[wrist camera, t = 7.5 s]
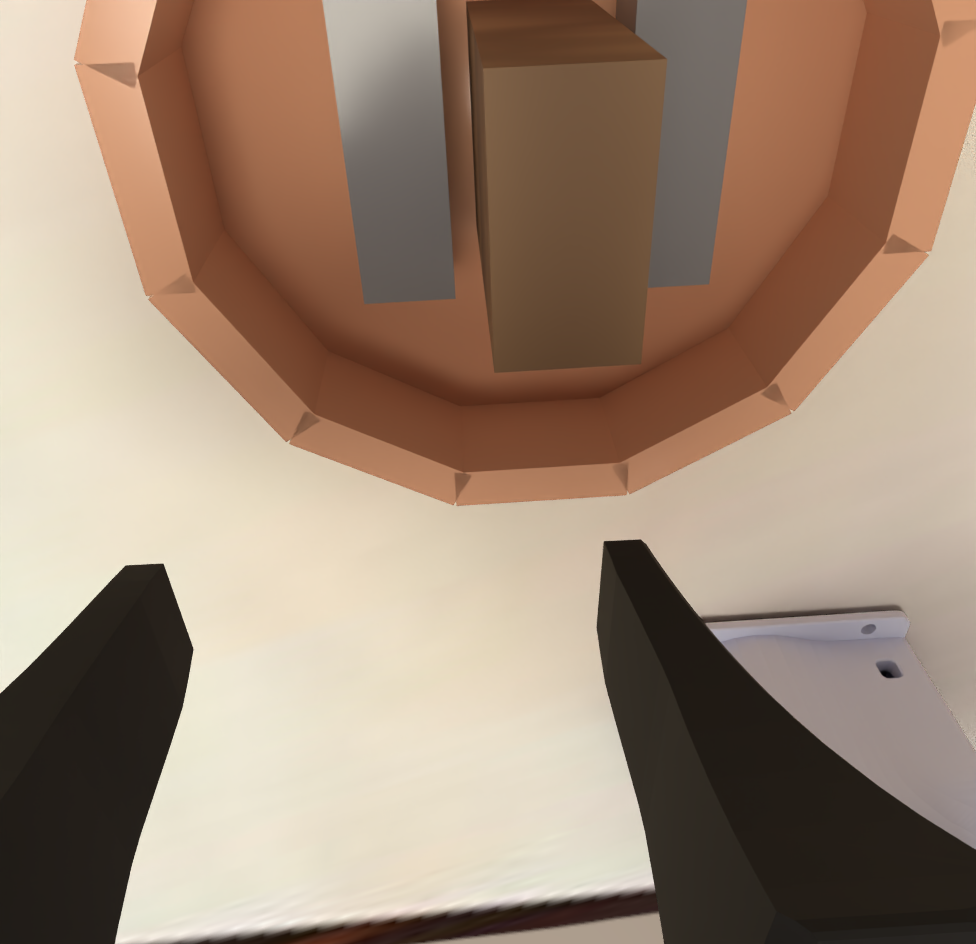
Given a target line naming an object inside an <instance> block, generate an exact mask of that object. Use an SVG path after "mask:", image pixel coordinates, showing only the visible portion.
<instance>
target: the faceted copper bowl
mask: <svg viewBox="0 0 976 944" xmlns="http://www.w3.org/2000/svg"><path fill="white" fill-rule="evenodd" d="M466 1H485V0H87V1H86V5H85V10H84V15H83V20H82V24H81V29H80V34H79V39H78V43H77V48H76V53H75V57H74V60H75V61H78V62H79V63H78V64H76V65H74V66H75V69H76V72H77V75H78V79H79V82H80V85H81V88H82V91H83V95H84V98H85V101H86V104H87V108H88V111H89V114H90V117H91V120H92V124H93V127H94V130H95V133H96V137H97V140H98V143H99V146H100V149H101V153H102V156H103V159H104V162H105V166H106V169H107V172H108V175H109V178H110V182H111V185H112V188H113V191H114V195H115V198H116V201H117V204H118V207H119V211H120V214H121V217H122V220H123V224H124V227H125V230H126V233H127V236H128V240H129V243H130V246H131V249H132V253H133V256H134V259H135V262H136V266H137V269H138V272H139V275H140V278H141V282H142V285H143V288H144V291H145V295H146V296H150V295H151V296H150V297H149V299H148V300H149V301H150V302H151V303H152V304H153V305H154V306H155V307H156V308H157V309H158V310H159V311H160V312H161V313H162V314H163V315H164V316H165V317H166V318H167V319H168V320H169V321H170V323H171V324H172V325H173V326H174V327H175V328H176V329H177V330H178V331H179V332H180V333H181V334H182V335H183V336H184V337H185V338H186V339H187V340H188V341H189V342H190V343H191V344H192V345H193V346H194V347H195V348H196V349H197V350H198V351H199V352H200V353H201V355H202V356H203V357H204V358H205V359H206V360H207V361H208V362H209V363H210V364H211V365H212V366H213V367H214V368H215V369H216V370H217V371H218V372H219V373H220V374H221V375H222V376H223V377H224V378H225V379H226V380H227V381H228V382H229V383H230V384H231V385H232V387H233V388H234V389H235V390H236V391H237V392H238V393H239V394H240V395H241V396H242V397H243V398H244V399H245V400H246V401H247V402H248V403H249V404H250V405H251V406H252V407H253V408H254V409H255V410H256V411H257V412H258V413H259V414H260V415H261V416H262V417H263V419H264V420H265V421H266V422H267V423H268V424H269V425H270V426H271V427H272V428H273V429H274V430H275V431H276V432H277V433H278V434H279V435H280V436H281V437H282V438H283V439H284V440H285V441H286V442H287V441H289V440H290V443H289V444H291V445H293V446H296V447H299V448H302V449H304V450H307V451H310V452H312V453H315V454H318V455H320V456H323V457H326V458H328V459H331V460H334V461H336V462H339V463H342V464H344V465H347V466H350V467H352V468H355V469H358V470H360V471H363V472H366V473H368V474H371V475H374V476H376V477H379V478H382V479H384V480H387V481H390V482H392V483H395V484H398V485H401V486H403V487H406V488H409V489H411V490H414V491H417V492H419V493H422V494H425V495H427V496H430V497H433V498H435V499H438V500H441V501H443V502H446V503H449V504H451V505H454V503H455V502H456V503H457V506H460V505H476V504H492V503H508V502H524V501H540V500H556V499H572V498H588V497H604V496H620V495H626V494H627V491H628V492H629V494H631V493H633V492H635V491H637V490H639V489H641V488H643V487H645V486H647V485H649V484H651V483H653V482H655V481H657V480H659V479H661V478H663V477H665V476H667V475H669V474H671V473H673V472H675V471H677V470H679V469H681V468H683V467H685V466H687V465H689V464H691V463H693V462H695V461H697V460H699V459H701V458H703V457H705V456H707V455H709V454H711V453H713V452H715V451H717V450H719V449H721V448H723V447H725V446H727V445H729V444H731V443H733V442H735V441H737V440H739V439H741V438H743V437H745V436H747V435H749V434H751V433H753V432H755V431H757V430H759V429H761V428H763V427H765V426H767V425H769V424H771V423H773V422H775V421H777V420H779V419H781V418H783V417H785V416H787V415H789V414H791V412H790V409H791V410H793V411H795V410H796V409H797V407H798V406H799V405H800V404H801V403H802V402H803V401H804V399H805V398H806V397H807V396H808V395H809V394H810V392H811V391H812V390H813V389H814V388H815V387H816V385H817V384H818V383H819V382H820V381H821V380H822V379H823V377H824V376H825V375H826V374H827V373H828V372H829V370H830V369H831V368H832V367H833V366H834V365H835V363H836V362H837V361H838V360H839V359H840V358H841V356H842V355H843V354H844V353H845V352H846V351H847V350H848V348H849V347H850V346H851V345H852V344H853V343H854V341H855V340H856V339H857V338H858V337H859V336H860V334H861V333H862V332H863V331H864V330H865V329H866V327H867V326H868V325H869V324H870V323H871V322H872V321H873V319H874V318H875V317H876V316H877V315H878V314H879V312H880V311H881V310H882V309H883V308H884V307H885V305H886V304H887V303H888V302H889V301H890V300H891V298H892V297H893V296H894V295H895V294H896V293H897V292H898V290H899V289H900V288H901V287H902V286H903V285H904V283H905V282H906V281H907V280H908V279H909V278H910V276H911V275H912V274H913V273H914V272H915V271H916V269H917V268H918V267H919V266H920V265H921V264H922V263H923V261H924V260H925V259H926V258H927V257H928V256H929V255H928V254H927V253H925V252H927V251H931V250H932V246H933V243H934V240H935V236H936V233H937V230H938V226H939V223H940V220H941V216H942V213H943V210H944V207H945V203H946V200H947V197H948V193H949V190H950V187H951V183H952V180H953V177H954V173H955V170H956V167H957V163H958V160H959V157H960V153H961V150H962V147H963V143H964V140H965V137H966V133H967V130H968V127H969V123H970V120H971V117H972V113H973V110H974V107H975V103H976V0H592V1H593V2H595V3H596V4H597V5H599V6H600V7H601V8H602V9H604V10H605V11H606V12H608V13H609V14H610V15H611V16H613V17H614V18H615V19H617V20H618V21H619V22H620V23H622V24H623V25H624V26H626V27H627V28H628V29H629V30H631V31H632V32H633V33H634V34H636V35H637V36H638V37H640V38H641V39H642V40H643V41H645V42H646V43H647V44H649V45H650V46H651V47H652V48H654V49H655V50H656V51H658V52H659V53H660V54H661V55H663V56H664V57H665V58H667V69H666V81H665V92H664V104H663V115H662V127H661V139H660V150H659V162H658V174H657V185H656V197H655V208H654V220H653V232H652V243H651V255H650V266H649V278H648V290H647V301H646V313H645V324H644V336H643V348H642V359H641V364H637V365H620V366H603V367H586V368H569V369H553V370H536V371H519V372H502V373H494V365H493V357H492V349H491V340H490V332H489V324H488V316H487V308H486V300H485V291H484V283H483V275H482V267H481V259H480V251H479V242H478V234H477V226H476V208H475V186H474V165H473V143H472V121H471V100H470V78H469V57H468V35H467V13H466Z"/></svg>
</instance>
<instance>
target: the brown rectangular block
mask: <svg viewBox="0 0 976 944" xmlns="http://www.w3.org/2000/svg"><path fill="white" fill-rule="evenodd" d="M466 13H467V35H468V57H469V78H470V100H471V121H472V143H473V165H474V186H475V208H476V226H477V234H478V242H479V251H480V259H481V267H482V275H483V283H484V291H485V300H486V308H487V316H488V324H489V332H490V340H491V349H492V357H493V365H494V373H502V372H519V371H536V370H553V369H569V368H586V367H603V366H620V365H637V364H641V359H642V348H643V336H644V324H645V313H646V301H647V290H648V278H649V266H650V255H651V243H652V232H653V220H654V208H655V197H656V185H657V174H658V162H659V150H660V139H661V127H662V115H663V104H664V92H665V81H666V69H667V58H665V57H664V56H663V55H661V54H660V53H659V52H658V51H656V50H655V49H654V48H652V47H651V46H650V45H649V44H647V43H646V42H645V41H643V40H642V39H641V38H640V37H638V36H637V35H636V34H634V33H633V32H632V31H631V30H629V29H628V28H627V27H626V26H624V25H623V24H622V23H620V22H619V21H618V20H617V19H615V18H614V17H613V16H611V15H610V14H609V13H608V12H606V11H605V10H604V9H602V8H601V7H600V6H599V5H597V4H596V3H595V2H593V1H592V0H485V1H466Z"/></svg>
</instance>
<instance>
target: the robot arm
mask: <svg viewBox="0 0 976 944" xmlns="http://www.w3.org/2000/svg"><path fill="white" fill-rule="evenodd" d="M909 626H910V621H909V619H908V617H907V616H906V614H905V613H904V612H902V611H896V610H893V611H878V612H863V613H848V614H833V615H818V616H802V617H787V618H772V619H757V620H742V621H727V622H712V623H704V622H703V620H702V619H701V618H700V617H699V616H698V614H697V613H696V612H695V611H694V610H693V608H692V607H691V606H690V604H689V603H688V602H687V601H686V599H685V598H684V597H683V595H682V594H681V593H680V591H679V590H678V589H677V587H676V586H675V585H674V583H673V582H672V581H671V579H670V578H669V577H668V575H667V574H666V573H665V571H664V570H663V568H662V567H661V565H660V564H659V563H658V561H657V560H656V558H655V557H654V555H653V554H652V552H651V551H650V549H649V548H648V546H647V545H646V544H645V543H644V542H643V541H642V540H623V541H604V546H603V558H602V570H601V582H600V593H599V605H598V617H597V634H598V640H599V647H600V654H601V660H602V666H603V673H604V679H605V684H606V688H607V692H608V696H609V699H610V703H611V707H612V710H613V714H614V718H615V721H616V725H617V729H618V732H619V736H620V739H621V743H622V747H623V750H624V754H625V757H626V761H627V765H628V768H629V772H630V775H631V779H632V783H633V786H634V790H635V793H636V797H637V801H638V804H639V808H640V812H641V817H642V821H643V825H644V830H645V834H646V840H647V845H648V851H649V857H650V862H651V868H652V874H653V879H654V885H655V891H656V896H657V903H658V909H659V915H660V921H661V927H662V933H663V939H664V944H976V751H975V750H974V748H973V746H972V745H971V743H970V742H969V740H968V738H967V737H966V735H965V734H964V732H963V730H962V729H961V727H960V725H959V724H958V722H957V721H956V719H955V717H954V716H953V714H952V713H951V711H950V709H949V708H948V706H947V704H946V703H945V701H944V700H943V698H942V696H941V695H940V693H939V692H938V690H937V688H936V687H935V685H934V684H933V682H932V680H931V679H930V677H929V675H928V674H927V672H926V671H925V669H924V667H923V666H922V664H921V663H920V661H919V659H918V658H917V656H916V654H915V653H914V651H913V650H912V648H911V646H910V645H909V643H908V642H907V640H906V638H905V636H906V634H907V631H908V629H909ZM192 655H193V646H192V644H191V641H190V638H189V635H188V632H187V629H186V626H185V624H184V621H183V618H182V615H181V612H180V609H179V607H178V604H177V601H176V598H175V595H174V592H173V590H172V587H171V584H170V581H169V578H168V575H167V572H166V570H165V567H164V564H146V565H127V566H125V567H124V568H123V569H122V570H121V571H120V572H119V573H118V574H117V575H116V576H115V577H114V578H113V579H112V580H111V581H110V582H109V583H108V584H107V585H106V587H105V588H104V589H103V590H102V591H101V592H100V593H99V594H98V595H97V596H96V597H95V598H94V599H93V600H92V601H91V602H90V603H89V605H88V606H87V607H86V608H85V609H84V610H83V611H82V612H81V613H80V614H79V615H78V616H77V617H76V618H75V619H74V620H73V622H72V623H71V624H70V625H69V626H68V627H67V628H66V629H65V630H64V631H63V632H62V633H61V634H60V635H59V636H58V637H57V638H56V639H55V640H54V641H53V642H52V643H51V644H50V645H49V646H48V647H47V649H46V650H45V651H44V652H43V653H42V654H41V655H40V656H39V657H38V658H37V659H36V660H35V661H34V662H33V663H32V664H31V665H30V666H29V667H28V668H27V669H26V670H25V671H24V672H23V673H21V674H20V675H19V676H18V677H17V678H16V679H15V680H14V681H13V682H12V683H11V684H10V685H9V686H8V687H7V688H6V689H5V690H4V691H2V692H1V693H0V944H115V939H116V934H117V929H118V924H119V920H120V916H121V911H122V907H123V902H124V898H125V893H126V889H127V884H128V880H129V875H130V871H131V866H132V863H133V859H134V856H135V852H136V849H137V845H138V842H139V838H140V835H141V832H142V829H143V826H144V823H145V820H146V817H147V814H148V811H149V808H150V805H151V802H152V799H153V796H154V793H155V790H156V787H157V784H158V781H159V778H160V775H161V772H162V769H163V766H164V763H165V760H166V757H167V754H168V751H169V748H170V745H171V742H172V739H173V736H174V733H175V729H176V726H177V723H178V720H179V717H180V714H181V711H182V707H183V703H184V698H185V693H186V688H187V683H188V678H189V672H190V666H191V660H192Z"/></svg>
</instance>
